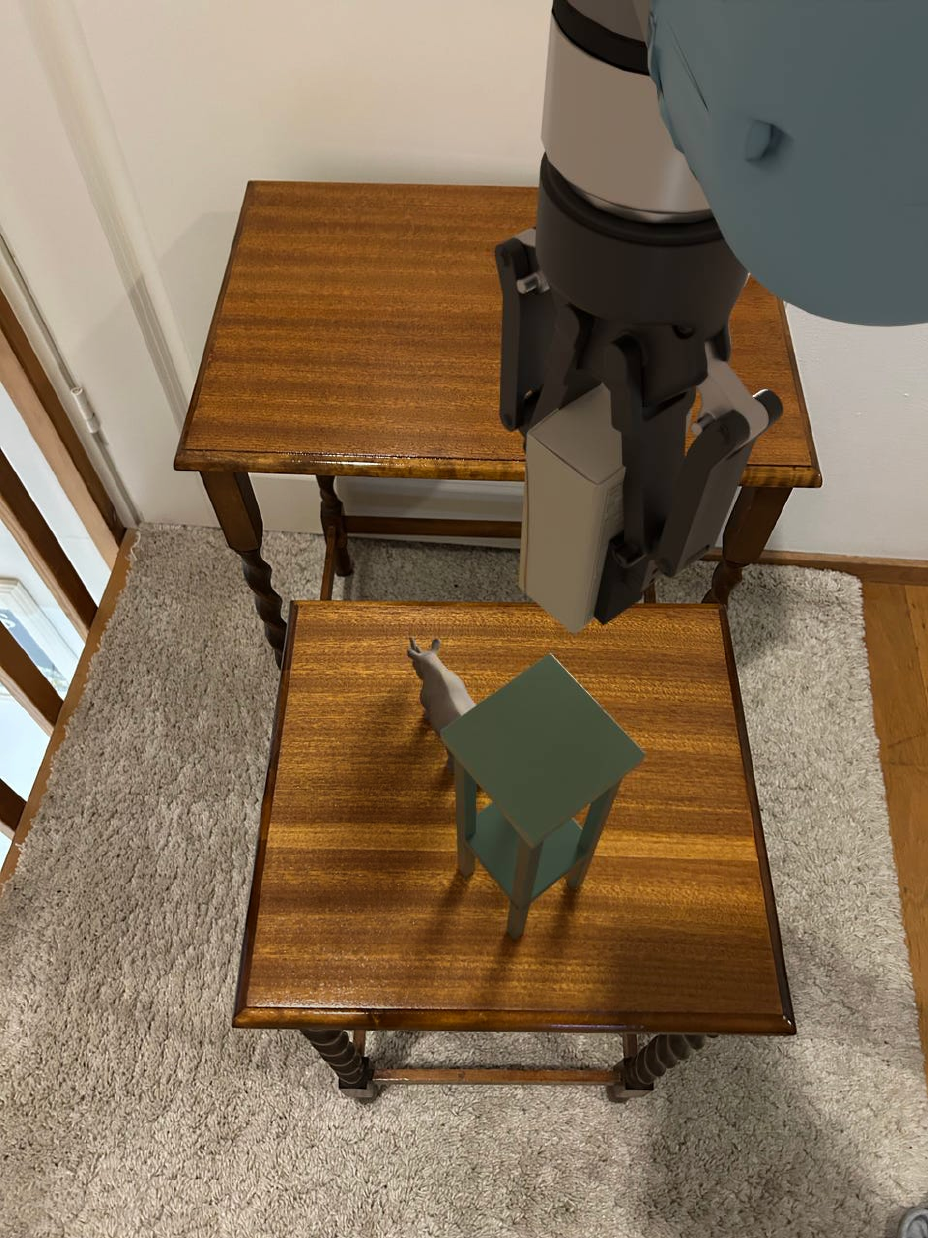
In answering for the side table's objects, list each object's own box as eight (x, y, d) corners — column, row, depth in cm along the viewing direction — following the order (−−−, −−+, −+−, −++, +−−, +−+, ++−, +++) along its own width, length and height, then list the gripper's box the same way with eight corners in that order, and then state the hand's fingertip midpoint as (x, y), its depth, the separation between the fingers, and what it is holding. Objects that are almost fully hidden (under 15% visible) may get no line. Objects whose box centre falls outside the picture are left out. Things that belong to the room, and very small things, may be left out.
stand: (583, 883, 73) (631, 756, 51) (514, 940, 71) (533, 833, 49) (525, 815, 76) (548, 667, 54) (457, 868, 74) (452, 736, 52)
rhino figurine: (435, 643, 84) (433, 608, 79) (502, 774, 78) (504, 745, 73) (393, 660, 83) (388, 626, 78) (457, 794, 77) (456, 766, 72)
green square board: (642, 762, 52) (646, 753, 51) (532, 850, 49) (533, 843, 48) (548, 662, 55) (550, 652, 54) (440, 739, 52) (439, 730, 51)
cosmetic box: (594, 525, 52) (621, 356, 42) (655, 572, 50) (699, 407, 40) (513, 590, 50) (521, 428, 39) (574, 642, 48) (599, 486, 38)
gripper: (966, 249, 27) (756, 650, 47) (567, 7, 34) (531, 442, 54) (789, 361, 25) (647, 734, 44) (401, 76, 32) (427, 504, 52)
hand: (584, 573), depth 49 cm, fingers closed on cosmetic box, 5 cm apart
